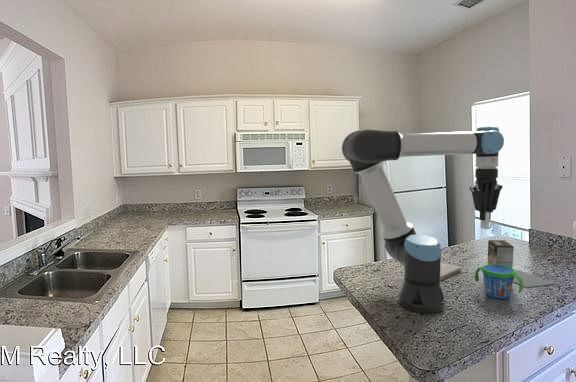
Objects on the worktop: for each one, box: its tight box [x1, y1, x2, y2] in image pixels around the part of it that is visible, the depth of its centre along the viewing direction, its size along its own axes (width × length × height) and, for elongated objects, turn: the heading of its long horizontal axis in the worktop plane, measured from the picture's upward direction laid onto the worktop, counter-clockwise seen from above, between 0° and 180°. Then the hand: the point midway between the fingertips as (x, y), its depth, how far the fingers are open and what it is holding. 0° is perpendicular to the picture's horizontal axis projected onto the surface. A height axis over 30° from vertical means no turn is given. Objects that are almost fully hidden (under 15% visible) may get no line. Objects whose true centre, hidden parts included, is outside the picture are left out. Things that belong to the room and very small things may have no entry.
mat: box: [513, 270, 555, 289], centre depth 145 cm, size 13×16×1 cm
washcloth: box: [440, 261, 462, 281], centre depth 155 cm, size 12×18×3 cm, turn 128°
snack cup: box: [474, 264, 524, 300], centre depth 129 cm, size 16×10×10 cm
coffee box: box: [487, 239, 514, 268], centre depth 141 cm, size 9×6×16 cm
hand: (484, 228), depth 138 cm, fingers closed
